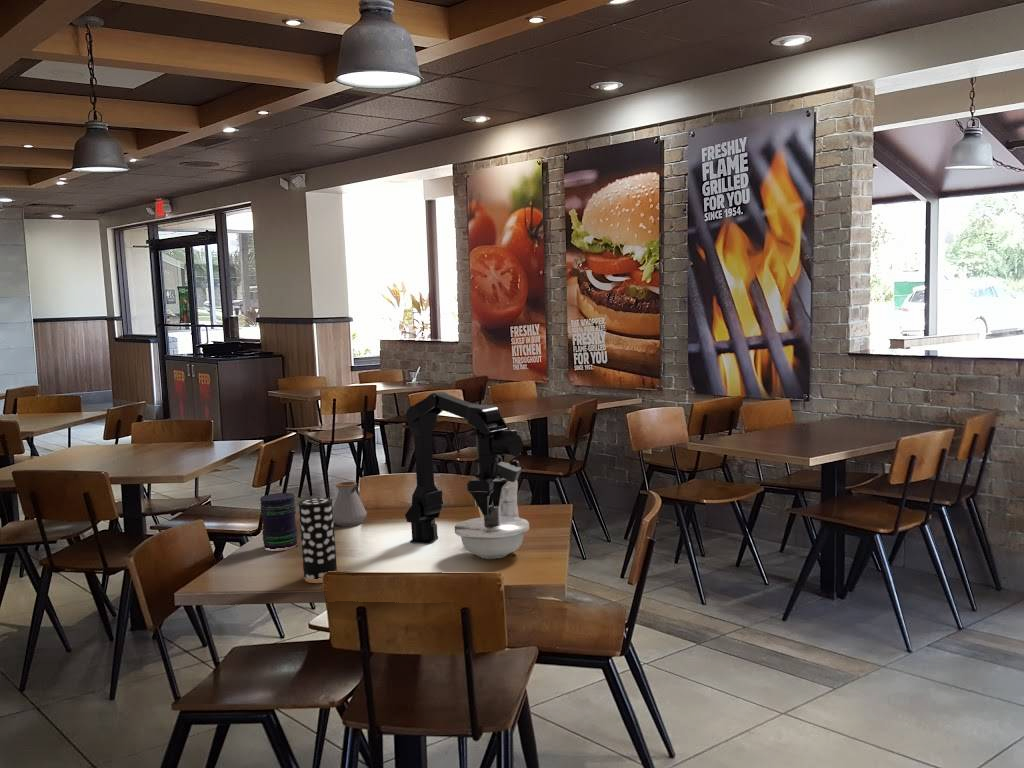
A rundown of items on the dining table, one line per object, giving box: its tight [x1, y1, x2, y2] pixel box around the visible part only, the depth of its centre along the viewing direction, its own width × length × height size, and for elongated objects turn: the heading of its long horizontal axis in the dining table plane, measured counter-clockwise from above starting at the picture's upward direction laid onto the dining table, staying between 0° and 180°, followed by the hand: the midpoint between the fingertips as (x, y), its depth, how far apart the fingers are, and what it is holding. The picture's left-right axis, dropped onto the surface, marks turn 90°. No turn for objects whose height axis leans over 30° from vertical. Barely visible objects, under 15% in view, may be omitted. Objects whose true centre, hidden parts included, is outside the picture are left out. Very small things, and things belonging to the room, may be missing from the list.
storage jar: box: [259, 492, 299, 549], centre depth 265 cm, size 10×10×15 cm
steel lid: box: [454, 504, 530, 539], centre depth 245 cm, size 20×20×6 cm
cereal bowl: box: [460, 533, 524, 560], centre depth 246 cm, size 17×17×7 cm
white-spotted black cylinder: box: [298, 497, 338, 579], centre depth 231 cm, size 8×8×20 cm
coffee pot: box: [333, 481, 368, 527], centre depth 285 cm, size 21×12×15 cm, turn 23°
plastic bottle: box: [498, 479, 520, 518], centre depth 268 cm, size 6×7×20 cm
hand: (491, 511), depth 245 cm, fingers open, 9 cm apart
